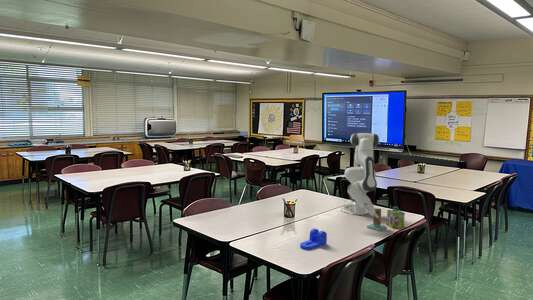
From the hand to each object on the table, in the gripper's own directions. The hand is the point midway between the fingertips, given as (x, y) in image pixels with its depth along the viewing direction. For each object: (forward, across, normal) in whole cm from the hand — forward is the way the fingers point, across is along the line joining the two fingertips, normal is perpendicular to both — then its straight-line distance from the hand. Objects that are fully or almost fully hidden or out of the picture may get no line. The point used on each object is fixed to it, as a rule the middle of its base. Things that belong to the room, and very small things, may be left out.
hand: (377, 216), depth 256 cm
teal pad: (+6, 0, +7) cm, 9 cm away
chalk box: (+16, +8, -3) cm, 18 cm away
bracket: (-23, -49, +36) cm, 65 cm away
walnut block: (+4, 0, +5) cm, 6 cm away
